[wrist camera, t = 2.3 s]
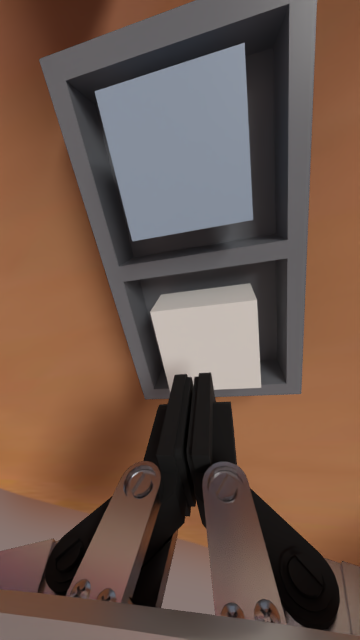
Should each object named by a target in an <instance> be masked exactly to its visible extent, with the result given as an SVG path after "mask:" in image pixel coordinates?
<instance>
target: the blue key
mask: <svg viewBox="0 0 360 640" xmlns="http://www.w3.org/2000/svg"><path fill="white" fill-rule="evenodd" d="M95 95H96V99H97V103H98V107H99V111H100V115H101V119H102V123H103V127H104V131H105V135H106V139H107V143H108V147H109V151H110V155H111V159H112V163H113V167H114V171H115V175H116V179H117V183H118V187H119V191H120V195H121V199H122V203H123V207H124V211H125V214H126V218H127V222H128V226H129V230H130V234H131V238H132V241H138V240H143V239H149V238H155V237H160V236H166V235H171V234H177V233H183V232H188V231H194V230H200V229H205V228H211V227H216V226H222V225H228V224H233V223H239V222H244V221H250V220H253V206H252V186H251V165H250V144H249V124H248V103H247V82H246V62H245V43H242V44H239V45H236V46H233V47H230V48H226V49H223V50H220V51H217V52H214V53H211V54H208V55H205V56H202V57H199V58H196V59H193V60H190V61H186V62H183V63H180V64H177V65H174V66H171V67H168V68H165V69H162V70H159V71H156V72H153V73H150V74H146V75H143V76H140V77H137V78H134V79H131V80H128V81H125V82H122V83H119V84H116V85H113V86H110V87H106V88H103V89H100V90H97V91H95Z"/></svg>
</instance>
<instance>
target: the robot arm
mask: <svg viewBox="0 0 360 640" xmlns="http://www.w3.org/2000/svg"><path fill="white" fill-rule="evenodd" d="M196 501H197V505H198V509H199V513H200V517H201V520H202V524H203V525H204V526H205V528H206V529H207V538H208V548H209V556H210V557H209V558H210V568H211V577H212V588H213V598H214V607H215V615H209V614H202V613H194V612H186V611H178V610H171V609H163V608H161V606H162V602H163V597H164V593H165V589H166V584H167V580H168V576H169V571H170V567H171V562H172V558H173V554H174V549H175V545H176V541H177V536H178V529H179V528H180V527H181V526H182V525H183V524H184V521H185V516H190V510H191V506H193V507H195V505H196ZM0 640H360V567H359V566H356V565H353V564H350V563H347V562H344V561H342V562H341V564H340V563H337V562H335V561H332V560H329V559H326V558H323V556H322V555H321V554H320V553H319V552H318V551H317V550H316V549H315V548H314V547H313V546H311V545H310V544H309V543H308V542H307V541H306V540H305V539H304V538H303V537H302V536H301V535H300V534H299V533H298V532H296V531H295V530H294V529H293V528H292V527H291V526H290V525H289V524H288V523H287V522H286V521H285V520H284V519H283V518H282V517H280V516H279V515H278V514H277V513H276V512H275V511H274V510H273V509H272V508H271V507H270V506H269V505H268V504H267V503H265V502H264V501H263V500H262V499H261V498H260V497H259V496H258V495H257V494H256V493H255V492H254V491H253V490H252V489H250V487H249V483H248V480H247V477H246V475H245V473H244V472H243V471H242V469H241V468H240V467H238V466H237V461H236V450H235V438H234V427H233V418H232V409H231V402H216V400H215V394H214V387H213V381H212V375H211V372H209V373H199V376H197V377H194V386H193V381H192V377H188V376H187V374H178V375H175V376H174V379H173V384H172V388H171V393H170V397H169V401H168V404H163V405H159V407H158V410H157V413H156V417H155V421H154V424H153V428H152V432H151V435H150V439H149V443H148V446H147V450H146V454H145V457H144V461H141V462H138V463H135V464H134V465H132V466H130V467H129V468H128V469H127V470H126V471H125V473H124V474H123V476H122V477H121V479H120V482H119V484H118V486H117V488H116V490H115V492H114V494H113V496H112V497H111V498H110V499H108V500H107V501H106V502H105V503H104V504H102V505H101V506H100V507H99V508H97V509H96V510H95V511H94V512H92V513H91V514H90V515H89V516H88V517H86V518H85V519H84V520H83V521H81V522H80V523H79V524H78V525H76V526H75V527H74V528H73V529H72V530H70V531H69V532H68V533H67V534H66V535H64V536H63V537H62V538H61V539H60V540H58V541H55V540H54V539H49V540H45V541H41V542H36V543H32V544H28V545H24V546H19V547H15V548H11V549H7V550H3V551H0Z"/></svg>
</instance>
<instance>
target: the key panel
mask: <svg viewBox="0 0 360 640" xmlns="http://www.w3.org/2000/svg"><path fill="white" fill-rule="evenodd" d="M316 10H317V0H195V1H193V2H190V3H187V4H185V5H182V6H179V7H177V8H174V9H171V10H169V11H166V12H163V13H161V14H158V15H155V16H153V17H150V18H147V19H145V20H142V21H139V22H137V23H134V24H131V25H129V26H126V27H123V28H121V29H118V30H115V31H113V32H110V33H107V34H105V35H102V36H99V37H97V38H94V39H91V40H89V41H86V42H83V43H81V44H78V45H75V46H73V47H70V48H67V49H65V50H62V51H59V52H57V53H54V54H51V55H49V56H46V57H43V58H41V59H39V61H40V64H41V67H42V70H43V74H44V77H45V80H46V83H47V86H48V90H49V93H50V96H51V99H52V102H53V106H54V109H55V112H56V115H57V118H58V122H59V125H60V128H61V131H62V134H63V138H64V141H65V144H66V147H67V150H68V154H69V157H70V160H71V163H72V167H73V170H74V173H75V176H76V179H77V183H78V186H79V189H80V192H81V195H82V199H83V202H84V205H85V208H86V211H87V215H88V218H89V221H90V224H91V227H92V231H93V234H94V237H95V240H96V243H97V247H98V250H99V253H100V256H101V259H102V263H103V266H104V269H105V272H106V275H107V279H108V282H109V285H110V288H111V291H112V295H113V298H114V301H115V304H116V307H117V311H118V314H119V317H120V320H121V323H122V327H123V330H124V333H125V336H126V339H127V343H128V346H129V349H130V352H131V355H132V359H133V362H134V365H135V368H136V372H137V375H138V378H139V381H140V384H141V388H142V391H143V394H144V397H145V399H169V397H170V393H171V392H170V389H169V385H168V381H167V377H166V373H165V370H164V366H163V362H162V358H161V354H160V350H159V346H158V342H157V338H156V334H155V330H154V326H153V322H152V318H151V314H150V311H151V310H152V308H153V307H154V305H155V303H156V302H157V300H158V298H159V297H160V295H161V294H169V293H177V292H185V291H193V290H201V289H209V288H216V287H224V286H232V285H240V284H248V283H250V284H251V286H252V289H253V291H254V294H255V296H256V299H257V310H258V330H259V351H260V372H261V388H245V389H220V390H214V394H215V397H227V396H255V395H284V394H301V385H302V360H303V335H304V310H305V285H306V260H307V235H308V210H309V185H310V160H311V135H312V110H313V85H314V60H315V35H316ZM242 43H245V62H246V82H247V103H248V124H249V144H250V165H251V186H252V206H253V220H250V221H244V222H239V223H233V224H228V225H222V226H216V227H211V228H205V229H200V230H194V231H188V232H183V233H177V234H171V235H166V236H160V237H155V238H149V239H143V240H138V241H132V238H131V234H130V230H129V226H128V222H127V218H126V214H125V211H124V207H123V203H122V199H121V195H120V191H119V187H118V183H117V179H116V175H115V171H114V167H113V163H112V159H111V155H110V151H109V147H108V143H107V139H106V135H105V131H104V127H103V123H102V119H101V115H100V111H99V107H98V103H97V99H96V95H95V91H97V90H100V89H103V88H106V87H110V86H113V85H116V84H119V83H122V82H125V81H128V80H131V79H134V78H137V77H140V76H143V75H146V74H150V73H153V72H156V71H159V70H162V69H165V68H168V67H171V66H174V65H177V64H180V63H183V62H186V61H190V60H193V59H196V58H199V57H202V56H205V55H208V54H211V53H214V52H217V51H220V50H223V49H226V48H230V47H233V46H236V45H239V44H242Z"/></svg>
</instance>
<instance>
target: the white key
mask: <svg viewBox="0 0 360 640" xmlns="http://www.w3.org/2000/svg"><path fill="white" fill-rule="evenodd" d="M150 314H151V318H152V322H153V326H154V330H155V334H156V338H157V342H158V346H159V350H160V354H161V358H162V362H163V366H164V370H165V373H166V377H167V381H168V385H169V389H170V392H171V388H172V384H173V379H174V376H175V375H178V374H187V376H188V377H192V381H193V386H194V377H197V376H199V373H209V372H211V375H212V381H213V387H214V390H220V389H245V388H261V372H260V351H259V330H258V310H257V299H256V296H255V294H254V291H253V289H252V286H251V284H250V283H248V284H240V285H232V286H224V287H216V288H209V289H201V290H193V291H185V292H177V293H169V294H161V295H160V297H159V298H158V300H157V302H156V303H155V305H154V307H153V308H152V310H151V311H150Z"/></svg>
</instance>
